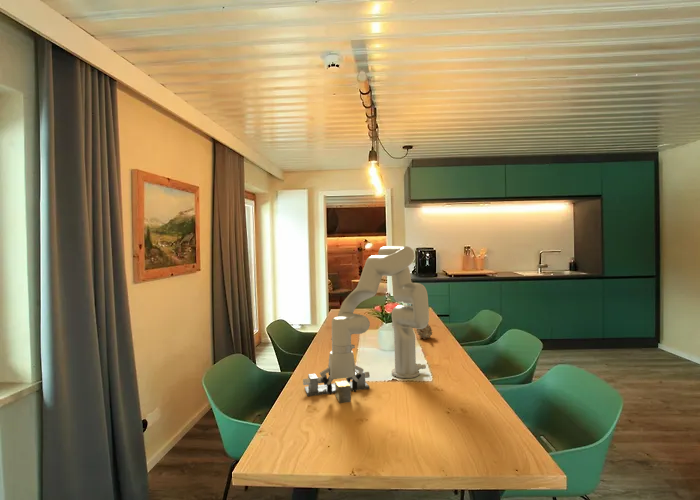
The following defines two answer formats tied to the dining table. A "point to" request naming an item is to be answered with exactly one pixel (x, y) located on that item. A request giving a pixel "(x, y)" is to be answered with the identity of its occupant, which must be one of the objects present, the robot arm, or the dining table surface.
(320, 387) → the shaft stand
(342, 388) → the two-tone brushed block
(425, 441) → the dining table surface
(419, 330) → the pine cone
